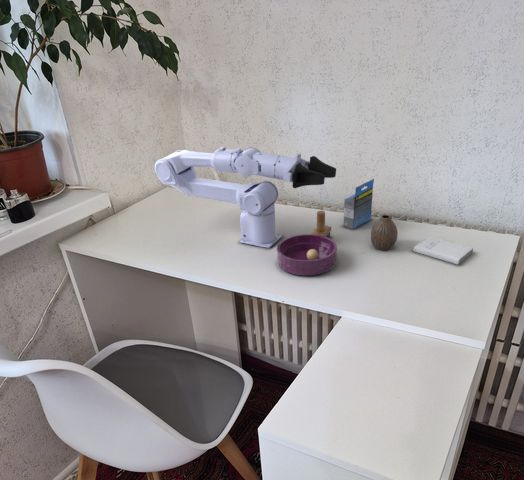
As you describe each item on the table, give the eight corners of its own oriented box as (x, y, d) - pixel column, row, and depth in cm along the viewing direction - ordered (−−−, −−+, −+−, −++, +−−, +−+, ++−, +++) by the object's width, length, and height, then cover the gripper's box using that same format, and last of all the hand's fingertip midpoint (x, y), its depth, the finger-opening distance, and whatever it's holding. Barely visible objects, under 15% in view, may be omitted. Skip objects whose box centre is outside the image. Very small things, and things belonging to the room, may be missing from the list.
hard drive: (457, 265, 127) (412, 252, 134) (472, 253, 131) (428, 240, 138) (458, 259, 126) (413, 246, 133) (473, 247, 130) (429, 235, 137)
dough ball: (304, 261, 132) (304, 251, 130) (309, 256, 134) (309, 246, 132) (315, 263, 130) (315, 253, 129) (320, 258, 132) (320, 248, 131)
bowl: (267, 270, 131) (266, 254, 128) (293, 245, 141) (293, 230, 138) (321, 282, 124) (321, 266, 121) (345, 255, 134) (346, 240, 132)
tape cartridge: (360, 216, 153) (363, 175, 146) (371, 219, 151) (374, 178, 144) (342, 226, 149) (344, 184, 141) (353, 229, 146) (355, 187, 139)
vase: (396, 253, 134) (399, 222, 128) (369, 252, 135) (371, 221, 130) (396, 242, 139) (399, 211, 133) (370, 241, 140) (372, 210, 135)
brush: (309, 244, 141) (309, 215, 135) (319, 235, 145) (319, 207, 140) (321, 246, 139) (322, 217, 134) (331, 237, 143) (331, 208, 138)
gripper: (267, 156, 121) (320, 165, 116) (293, 145, 132) (342, 153, 127) (266, 186, 125) (317, 196, 120) (291, 173, 136) (338, 182, 131)
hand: (329, 176), depth 124 cm, fingers open, 7 cm apart
